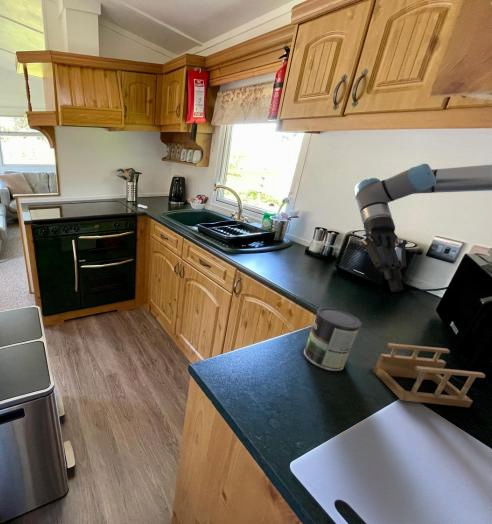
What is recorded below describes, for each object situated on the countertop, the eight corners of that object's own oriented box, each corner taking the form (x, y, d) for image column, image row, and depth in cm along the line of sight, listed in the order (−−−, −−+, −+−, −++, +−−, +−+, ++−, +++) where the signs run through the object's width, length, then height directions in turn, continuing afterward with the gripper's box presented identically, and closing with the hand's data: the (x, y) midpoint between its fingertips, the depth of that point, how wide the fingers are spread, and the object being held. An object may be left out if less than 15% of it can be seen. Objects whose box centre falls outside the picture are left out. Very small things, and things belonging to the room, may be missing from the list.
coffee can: (299, 359, 82) (313, 316, 77) (307, 343, 90) (320, 303, 85) (342, 377, 76) (360, 332, 71) (346, 358, 84) (363, 316, 79)
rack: (372, 371, 79) (385, 342, 76) (432, 377, 79) (448, 348, 75) (400, 400, 70) (416, 368, 67) (469, 407, 69) (488, 375, 66)
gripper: (388, 229, 97) (409, 296, 87) (349, 226, 97) (365, 292, 87) (407, 216, 90) (432, 288, 80) (365, 213, 90) (384, 283, 81)
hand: (397, 290), depth 84 cm, fingers closed
